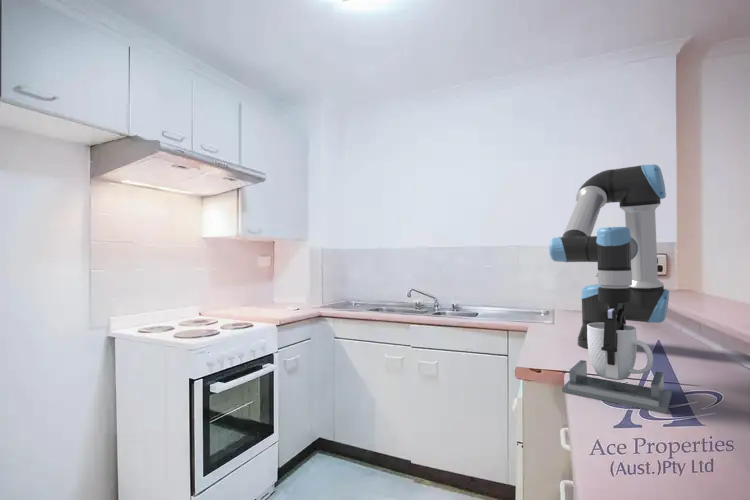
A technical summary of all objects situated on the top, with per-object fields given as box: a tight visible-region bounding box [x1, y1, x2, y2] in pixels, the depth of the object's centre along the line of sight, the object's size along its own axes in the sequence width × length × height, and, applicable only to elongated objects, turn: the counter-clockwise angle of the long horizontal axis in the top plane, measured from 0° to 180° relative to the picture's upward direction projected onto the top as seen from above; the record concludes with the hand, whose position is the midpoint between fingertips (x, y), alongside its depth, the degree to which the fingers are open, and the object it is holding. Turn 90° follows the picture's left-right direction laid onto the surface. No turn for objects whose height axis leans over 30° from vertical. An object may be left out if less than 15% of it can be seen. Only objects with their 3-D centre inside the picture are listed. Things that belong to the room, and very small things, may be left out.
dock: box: [561, 359, 672, 415], centre depth 100 cm, size 13×22×6 cm, turn 49°
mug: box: [587, 323, 654, 381], centre depth 100 cm, size 15×11×13 cm
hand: (616, 371), depth 101 cm, fingers closed on mug, 11 cm apart
